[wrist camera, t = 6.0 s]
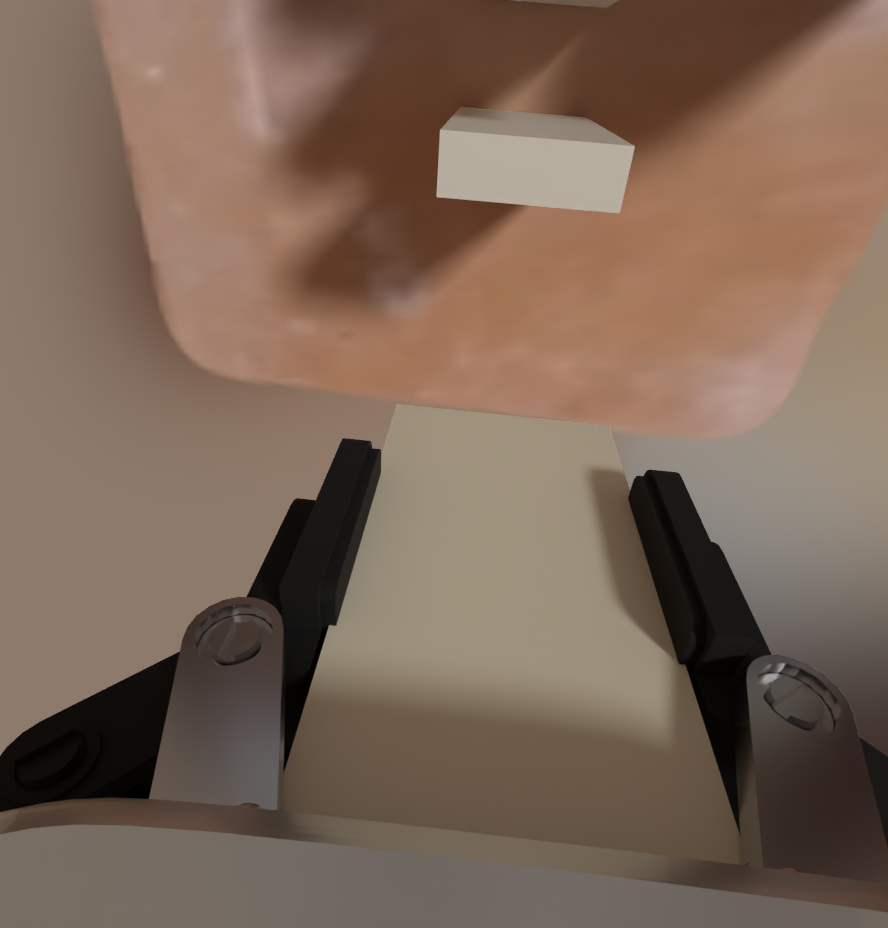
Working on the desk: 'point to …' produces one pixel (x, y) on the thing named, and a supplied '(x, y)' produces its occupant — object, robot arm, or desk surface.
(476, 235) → the desk surface
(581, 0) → the domino
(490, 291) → the desk surface
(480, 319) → the desk surface
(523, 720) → the domino
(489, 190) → the domino
